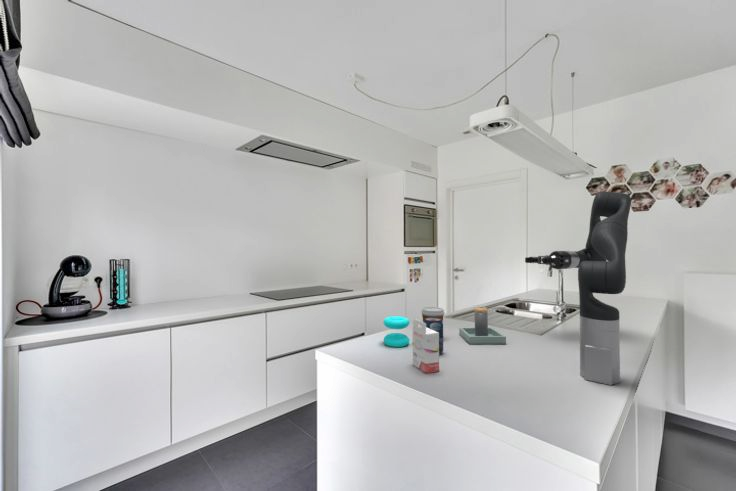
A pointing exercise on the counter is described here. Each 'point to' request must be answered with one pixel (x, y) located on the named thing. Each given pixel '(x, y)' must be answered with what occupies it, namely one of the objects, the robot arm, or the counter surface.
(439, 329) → the soda can
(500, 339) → the bin
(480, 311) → the battery
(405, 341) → the donuts
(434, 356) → the ink cartridge box
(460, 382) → the counter surface
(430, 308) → the disposable coffee cup
